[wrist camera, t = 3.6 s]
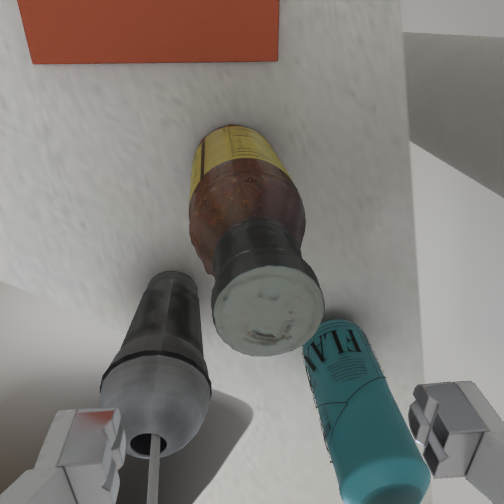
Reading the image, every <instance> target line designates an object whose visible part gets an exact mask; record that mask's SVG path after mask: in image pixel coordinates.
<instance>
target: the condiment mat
mask: <svg viewBox="0 0 504 504" xmlns="http://www.w3.org/2000/svg"><path fill="white" fill-rule="evenodd" d="M17 1H18V6H19V10H20V14H21V18H22V22H23V26H24V30H25V34H26V38H27V42H28V47H29V51H30V55H31V59H32V63H33V64H98V63H178V62H258V61H278V30H279V0H17Z"/></svg>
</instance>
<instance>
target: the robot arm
mask: <svg viewBox="0 0 504 504" xmlns="http://www.w3.org/2000/svg"><path fill="white" fill-rule="evenodd" d="M413 395H414V397H415V399H416V401H414V402H413V403H412V404H411V405H410V408H409V412H408V418H409V425H410V429H411V432H412V434H413V436H414V438H415V440H416V441H417V442H418V443H420V444H421V445H422V446H424V447H425V448H424V452H423V457H424V459H425V461H426V463H427V465H428V467H429V469H430V471H431V473H432V475H433V477H434V478H451V477H466V479H467V480H468V481H469V482H470V483H471V484H472V485H473V486H474V487H476V488H477V489H478V490H479V491H480V492H481V493H482V494H483V495H484V496H485V497H486V498H488V499H489V500H490V501H491V502H492V503H493V504H504V422H503V421H502V420H501V418H500V417H499V415H498V414H497V413H496V411H495V410H494V409H493V407H492V406H491V405H490V403H489V402H488V401H487V399H486V398H485V397H484V395H483V394H482V392H481V391H480V390H479V388H478V387H477V386H476V384H475V383H473V382H472V381H461V382H460V381H459V382H443V383H432V384H420V385H417V386H416V387H415V389H414V392H413ZM120 420H121V413H120V410H119V408H117V407H114V408H93V409H76V410H60V411H59V412H58V413H57V414H56V415H55V416H54V418H53V421H52V424H51V426H50V428H49V431H48V434H47V436H46V439H45V441H44V443H43V446H42V448H41V451H40V453H39V456H38V458H37V461H36V464H35V466H34V468H33V469H31V470H26V471H25V472H24V473H23V474H22V475H21V476H20V477H19V478H18V479H17V480H16V481H15V482H14V483H13V484H11V485H10V486H9V487H8V488H7V489H6V490H5V491H4V492H3V493H2V494H1V495H0V504H116V499H117V494H118V489H119V484H120V479H119V476H118V472H117V471H118V470H119V469H120V468H121V467H122V466H123V464H124V458H125V451H126V435H125V430H124V427H123V426H121V425H120Z"/></svg>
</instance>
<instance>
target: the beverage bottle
mask: <svg viewBox="0 0 504 504" xmlns="http://www.w3.org/2000/svg"><path fill="white" fill-rule="evenodd" d="M365 335H366V334H365V333H364V332H363V331H362V330H361V329H360V327H358V326H357V325H355V324H354V323H352V322H350V321H346V320H339V319H336V320H329V321H326V322H323V323H321V324H320V325H319V327H318V330H317V331H316V333H315V334H314V335H313V336H312V337H311V338H310V339H309V340H308V341H307V342H306V343H305V344H304V345H303V348H302V349H303V354H304V359H305V362H306V365H305V367H306V366H307V367H306V372H307V369H308V373H309V377H310V380H309V383H311V384H310V387H311V386H312V388H311V391H312V389H313V391H312V393H313V395H314V396H313V399H314V398H315V399H316V404H317V407H316V408H318V411H319V414H320V418H321V422H322V423H321V422H320V425H323V426H322V427H323V429H324V431H323V432H324V433H323V435H325V437H324V438H325V439H326V440H327V444H328V446H327V445H326V444H325V445H326V446H327V447H328V448H329V450H328V448H327V450H328V451H329V452H330V455H331V459H332V461H330V463H331V462H333V465H334V468H335V472H336V476H337V479H338V483H339V491H340V495H341V498H342V500H343V501H344V502H345V504H420V502H421V501H422V499H423V497H424V495H425V493H426V491H427V489H428V486H429V483H430V471H429V468H428V466H427V464H426V463H425V462H424V461H423V458H422V456H421V454H420V452H419V450H418V448H417V446H416V444H415V442H414V440H413V438H412V435H411V433H410V431H409V429H408V427H407V425H406V423H405V421H404V419H403V417H402V415H401V412H400V410H399V408H398V406H397V404H396V402H395V400H394V398H393V396H392V394H391V391H390V389H389V387H388V384H387V382H386V379H385V378H387V377H384V375H383V373H382V371H381V369H380V367H379V364H378V362H377V360H376V358H375V356H374V354H373V352H372V349H371V347H372V346H371V344H370V343H368V341H369V340H368V337H366V336H365ZM370 346H371V347H370ZM373 351H374V350H373ZM376 357H377V356H376ZM382 369H383V368H382ZM308 373H307V375H308ZM309 377H308V379H309ZM314 401H315V400H314ZM314 403H315V402H314ZM321 430H322V428H321ZM325 439H324V441H326V440H325ZM325 443H326V442H325Z"/></svg>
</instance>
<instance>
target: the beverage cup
mask: <svg viewBox="0 0 504 504" xmlns="http://www.w3.org/2000/svg"><path fill="white" fill-rule="evenodd" d="M100 394H101V395H100V400H99V402H100V403H99V408H114V407H117V408H119V410H120V413H121V420H120V425H121V426H123V427H124V430H125V435H126V451H125V453H127V454H129V455H132V456H135V457H138V458H145V459H150V464H149V480H148V494H147V504H157V500H158V478H159V458H161V457H165V456H168V455H170V454H172V453H174V452H176V451H178V450H180V449H182V448H183V447H184V446H185V445H186V444H187V443H188V442H189V441H190V440H191V439H192V438H193V437H194V436H195V435H196V433H197V432H198V431H199V429H200V427H201V425H202V423H203V420H204V418H205V415H206V413H207V409H208V405H209V400H210V398H211V394H212V391H211V381H210V379H209V376H208V370H207V366H206V362H205V360H204V356H203V344H202V332H201V320H200V308H199V298H198V294H197V287H196V285H195V283H194V281H193V280H192V279H191V278H190V277H188V276H187V275H185V274H183V273H179V272H175V271H169V272H163V273H160V274H158V275H157V276H155V277H154V278H153V279H152V280H151V281H150V283H149V285H148V287H147V289H146V291H145V292H144V294H143V296H142V299H141V301H140V304H139V306H138V308H137V311H136V313H135V315H134V318H133V320H132V323H131V325H130V327H129V330H128V332H127V335H126V337H125V339H124V342H123V344H122V346H121V349H120V351H119V352H118V354H117V355H116V356H115V358H114V360H113V361H112V363H111V364H110V366H109V368H108V369H107V371H106V372H105V373H104V375H103V377H102V381H101V385H100Z"/></svg>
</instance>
